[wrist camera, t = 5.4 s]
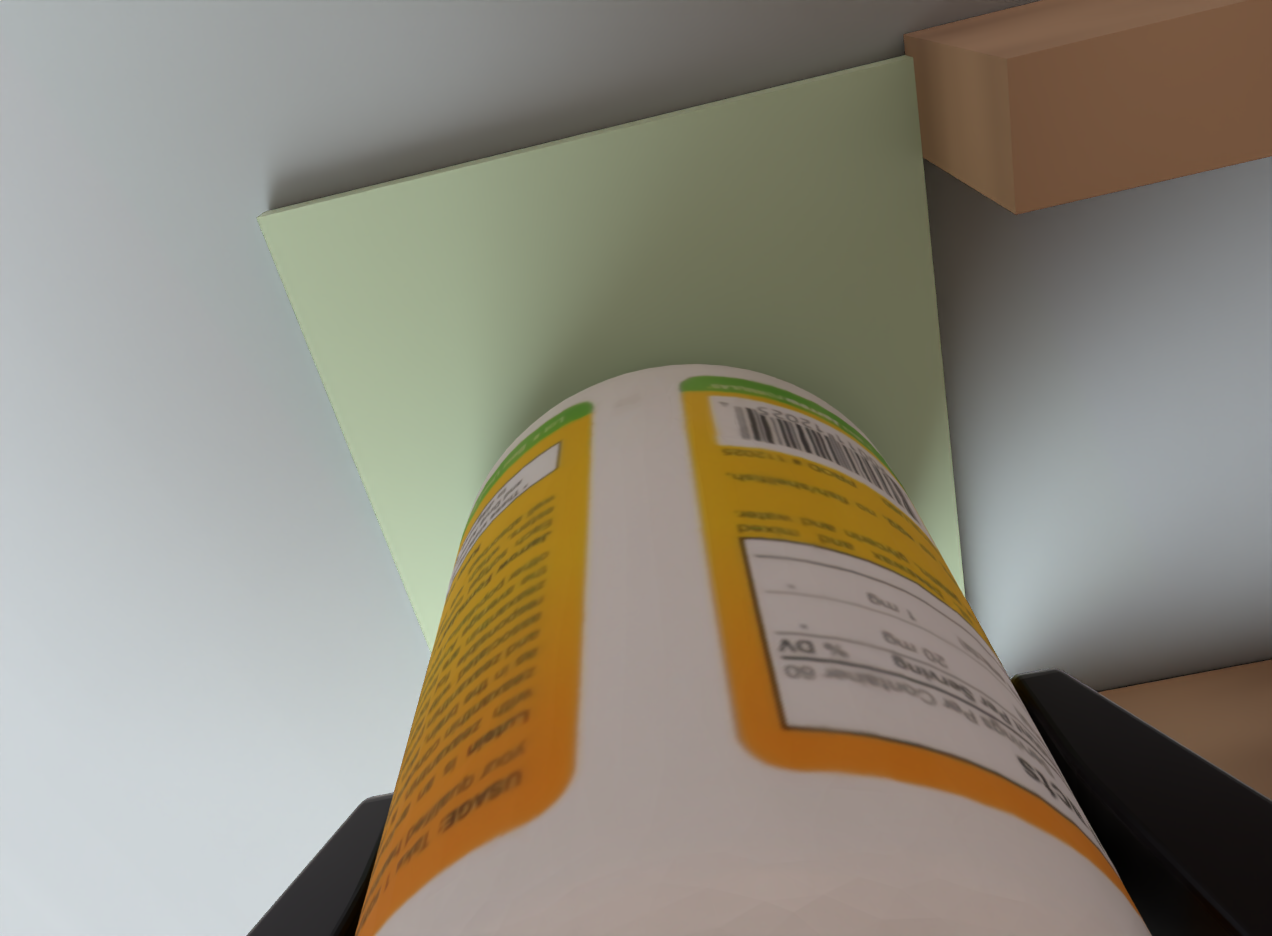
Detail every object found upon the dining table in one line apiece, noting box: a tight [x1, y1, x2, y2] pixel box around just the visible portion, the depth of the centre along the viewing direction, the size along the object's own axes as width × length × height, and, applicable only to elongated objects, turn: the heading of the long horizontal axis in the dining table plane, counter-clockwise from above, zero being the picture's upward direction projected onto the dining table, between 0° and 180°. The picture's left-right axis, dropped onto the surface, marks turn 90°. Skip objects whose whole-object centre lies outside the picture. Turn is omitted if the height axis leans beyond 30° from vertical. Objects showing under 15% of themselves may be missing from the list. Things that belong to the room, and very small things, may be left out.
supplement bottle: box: [355, 364, 1152, 936], centre depth 8 cm, size 5×5×10 cm
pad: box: [257, 55, 965, 654], centre depth 13 cm, size 7×10×1 cm
